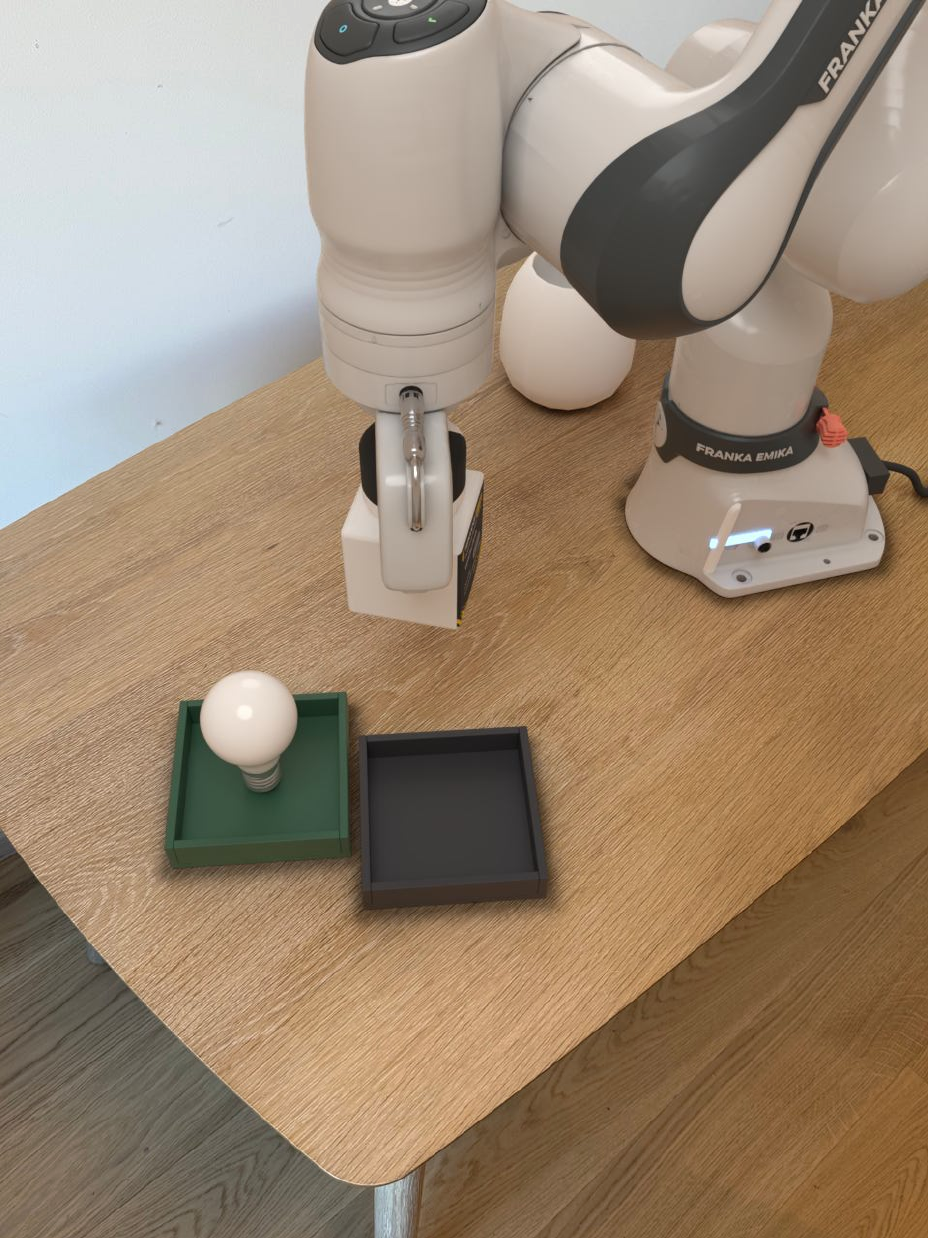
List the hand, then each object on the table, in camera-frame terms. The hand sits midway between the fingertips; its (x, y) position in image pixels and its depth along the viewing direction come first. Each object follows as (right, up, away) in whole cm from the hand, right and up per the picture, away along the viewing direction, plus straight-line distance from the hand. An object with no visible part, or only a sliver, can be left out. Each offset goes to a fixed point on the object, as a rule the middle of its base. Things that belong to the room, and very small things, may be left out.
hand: (411, 527), depth 66 cm
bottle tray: (+2, -20, +11) cm, 23 cm away
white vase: (+13, +18, +44) cm, 49 cm away
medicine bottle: (0, -3, +4) cm, 5 cm away
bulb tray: (-11, -18, +13) cm, 24 cm away
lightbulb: (-11, -17, +13) cm, 24 cm away
